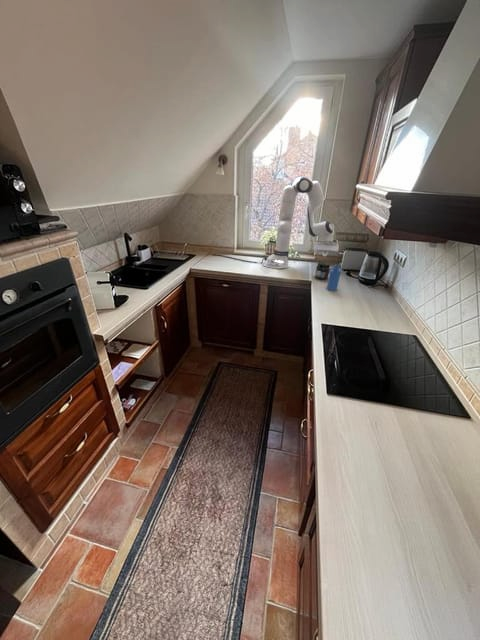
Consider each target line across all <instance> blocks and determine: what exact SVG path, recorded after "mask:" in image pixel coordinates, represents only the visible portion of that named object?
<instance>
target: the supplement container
mask: <svg viewBox="0 0 480 640" xmlns="http://www.w3.org/2000/svg"><path fill="white" fill-rule="evenodd" d="M316 265H317V266H316V268H315V273H314V278H315V279H317V280H318V281H319V280H320V281H326V280H329V275H330V271H331V263H330V262H327V261H318V262H317V263H316Z"/></svg>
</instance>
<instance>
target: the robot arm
mask: <svg viewBox="0 0 480 640" xmlns="http://www.w3.org/2000/svg"><path fill="white" fill-rule="evenodd" d="M299 193H300V194H305V193H306V194H307V197H308V201H309V202H308V203H309V205H308V206H307V210H306V211H307V220H308V234H309V235H310V236H311V237H313V238H314V237H318V236H322V238H321V240H315V241H314V242H313V252H316V253H321V254H322V257H324V258H327V257H328V255H329V253H330V254H338V253H339V249H340V246H339V240H338V239H335V238H334V235H335V225H334V224H333V223H332V222H330V221H329V220H326V221H325V220H324V221H321V222H317V223H315V212H316V211H317V210H318V209H320V208H321V206H323V204H324V202H325V195H324V192H323V188H322V185H321V184H320V181H318V180H312V181H311V179H309V177H306V176H304V175H301V176H297V177H296V178H294V179H293V181H292V183H291V184H290V185H286V186H285V187H284V188H283V191H282V195H281V201H280V209H279V216H278V224H277V232H276V244H275V248H274V249H273V251H272V253H271V255H269V256H265V257H264V258H262V259H261V262H260V264H263V267H267V268H272V269H276V270H281V269H287V268H289V266H290V265H289V255H290V241H291V234H292V228H293V227H292V223H293V217H294V212H295V206H296V199H297V195H299ZM211 256H216V257H217V256H218V257H225V258H229V259H233V260H238V261H242V262H248V263H254V264H258V262H256V261H249V260H245V259H240V258H235V257H232V256H228V255H221V254H213V253H212V254H211Z"/></svg>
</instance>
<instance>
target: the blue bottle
mask: <svg viewBox="0 0 480 640" xmlns="http://www.w3.org/2000/svg"><path fill="white" fill-rule="evenodd" d="M340 266H341V265H340V264H337V263H335V264H334V265H333V268H330V271H329V276H328V279H327V280H328V281H327V285H326V290H327V291H330V292H336V291H337V290H338V286H339V282H340V278H341V271H342V270H340Z"/></svg>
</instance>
